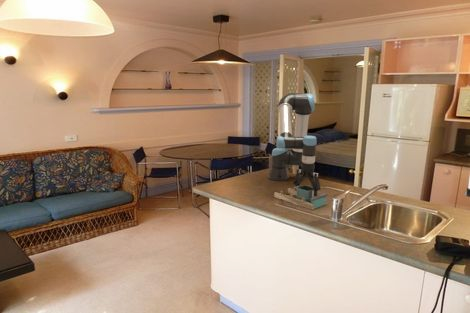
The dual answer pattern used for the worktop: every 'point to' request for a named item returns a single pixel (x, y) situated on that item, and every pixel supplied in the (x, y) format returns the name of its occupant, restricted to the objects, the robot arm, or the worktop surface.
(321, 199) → the teal flat block
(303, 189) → the flower pot
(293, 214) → the worktop surface
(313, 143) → the robot arm
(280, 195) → the guide rails
